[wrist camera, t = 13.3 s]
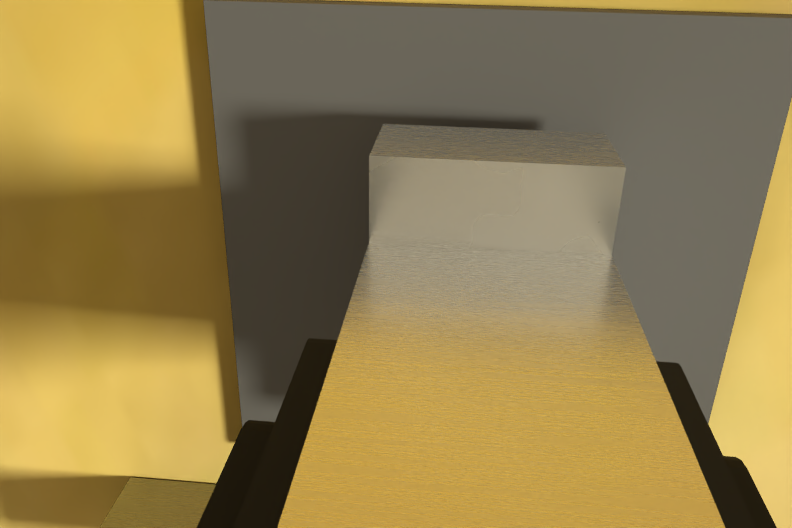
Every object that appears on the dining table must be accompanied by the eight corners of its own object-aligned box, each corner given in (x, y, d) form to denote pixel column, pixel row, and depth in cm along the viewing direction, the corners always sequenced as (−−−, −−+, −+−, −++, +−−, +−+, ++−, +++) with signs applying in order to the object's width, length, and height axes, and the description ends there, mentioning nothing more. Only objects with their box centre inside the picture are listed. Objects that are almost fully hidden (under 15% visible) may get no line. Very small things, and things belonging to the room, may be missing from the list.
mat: (797, 14, 13) (811, 18, 13) (683, 477, 18) (689, 495, 17) (213, -3, 14) (202, 0, 14) (251, 443, 19) (245, 459, 18)
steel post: (604, 133, 13) (1270, 1202, 2) (559, 443, 16) (741, 1534, 5) (383, 123, 13) (-10, 1015, 2) (380, 429, 16) (197, 1432, 5)
